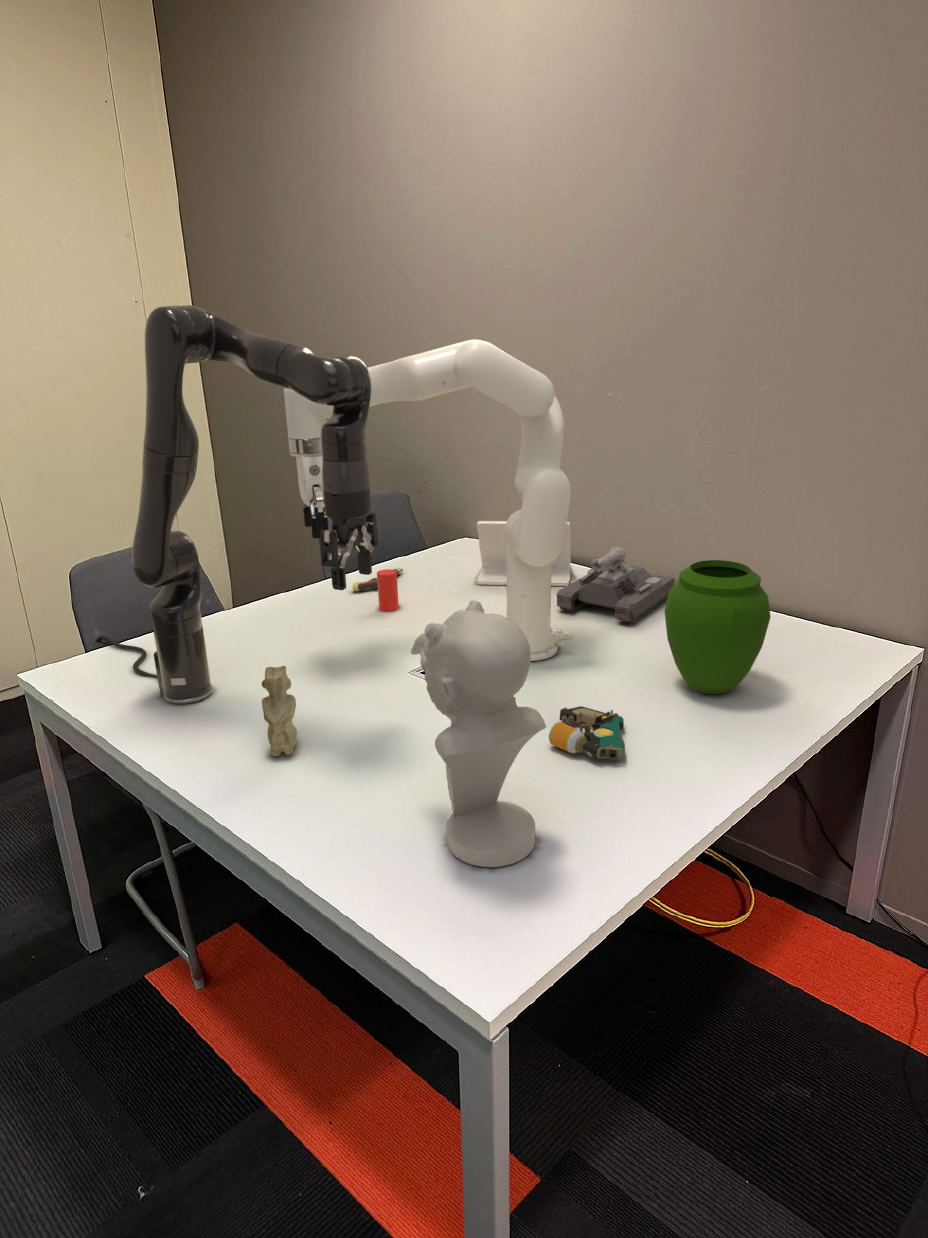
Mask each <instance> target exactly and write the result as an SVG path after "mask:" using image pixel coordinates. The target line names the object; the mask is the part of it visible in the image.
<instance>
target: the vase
mask: <svg viewBox="0 0 928 1238" xmlns="http://www.w3.org/2000/svg"><path fill="white" fill-rule="evenodd" d="M761 582H762V577H761V576H760V575H759V574H758V573H757V572H755V571H754V570H753V569H752V568H751V567H750V566H748V565H746V564H743V563H741V562H737V561H732V560H723V559H722V560H721V559H710V560H709V559H708V560H707V559H706V560H701V561H696V562H694V563H692V564H690V565H689V566H687V567H685V568H684V569H681V570H680V572H679V574H678V580H677V582H675V583H674V586H673V587H672V588H671V589H670V591H669V595H668V598H667V600H666V601H665V604H664V605H665V606H664V619H665V620H664V621H665V628H666V637H667V638H666V639H667V642H668V645H669V649H670V651H671V655H672V658H673V661H674V664H675V666H676V668H677V670H678V671H679V674H680V675H681V677H682V678H683V680H684V682H686V683H687V685H688V687H690V688H692V689H693V690H695V691H697V692H699V693H702V694H708V695H720V694H725V693H729V692H731V691H732V690H734V688H736V687H737V686H738V685H740V683H742V681H743V680H744V679H745V678H746V676H747V675H748V674H749V673H750V671H751V669H752V667H753V665H754V664H755V662H756V660H757V658H758V656H759V654H760V652H761V650H762V648H763V645H764V642H765V638H766V635H767V632H768V629H769V624H770V621H771V617H772V616H771V609H770V602H769V601H770V600H769V596H768V593H767V592H766V591H765V590H764V588H763V587H762V586H761Z"/></svg>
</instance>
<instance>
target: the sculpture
mask: <svg viewBox="0 0 928 1238" xmlns="http://www.w3.org/2000/svg"><path fill="white" fill-rule="evenodd" d="M261 687H262V688H263V689H265V690H266V692H268V695H267V696H265V697H262V698H261V707H262V711H263V712H262V713H263V719H264V721H265V722H266V723H267V724H268V727H267V731H266V732H267V733H266V734H267V735H266V736H267V739H268V743H269V747H270V750H271V754H272V756H273V757H275V756H276V757H277V756H278V757H279V756H281V753H282V752H284V754H285V755H286V756H288V755H292V754H293V753H294V747H295V746H296V745H297V741H298V729H297V728H296V726H295V725H294V724H293V718H294V716H295V713H296V707H297V699H296V697H295V696H294V695H293V694H289V693H287V691H289V689H291V687H292V680H291V679H290V678H289V677H288V673H287V667H286V665H282V666H278V667H274V666H267V667H266V668H265V670H264V679H263V680H262V681H261Z"/></svg>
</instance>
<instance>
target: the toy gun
mask: <svg viewBox="0 0 928 1238" xmlns="http://www.w3.org/2000/svg"><path fill="white" fill-rule="evenodd" d="M392 570H396V571H397V576H398V575H399V574H401V573H403V572H404V568H403V567H401V568H399V567H397V568H394V569H393V568H392ZM375 587H378V584H377V577H373V578H371V579H369V580H367V581H362V582H358V581H356V582H354V583H352V590H353V592H359V591H363V590H367V589H371V588H375Z"/></svg>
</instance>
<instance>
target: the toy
mask: <svg viewBox="0 0 928 1238" xmlns="http://www.w3.org/2000/svg"><path fill="white" fill-rule="evenodd" d="M626 557H627V556H626V551H625V549H624V548H622V547H621V546H614V547H612V548H611V549H610V550H609V552H608V553H607V554H605V555H604V556H601V557H599V558H598V559H597V557H596V558H594V559H593V560H592V561H590V562H589V563H590V564H591V565H592V567H591V568H590V569H589V570H587V573H586V575H584V576H582V577H580V578H578V579H577V580H575V581H573V582H570V583H569V585H567V586H563V587H562V588H560V589H559V590H558V591H557V592H556V607H558V608H559V609H560V610H562V611H566V612H572V613H575V612H577V611H579V610H581V609H582V608H585V607H586V606H588V605H592V606H598V607H602V608H603V607H604V608H609V609H613V610H614V618H615V619H617V620H618V621H621V622H626V623H631V624H634V623H635V622H637V621H638V620H640V619H641V618H642V617H644V616H645V615H647V614H648V613H650V612H651V611H652V610H654V609H655V608H657V607H659V606H660V605H661V604H663V603H664V602H667V598H668V595H669V591H670V589H671V588H672V587H673V586H674V585H675V580H676V579H675V578H673V577H668V576H663V575H656V576H655V577H654V576H651V574H650V573H649V572H648V571H647V570H646V568H644V567H641V566H635V565H629V564H628V563H627V562H626V561H625V559H626Z"/></svg>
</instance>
